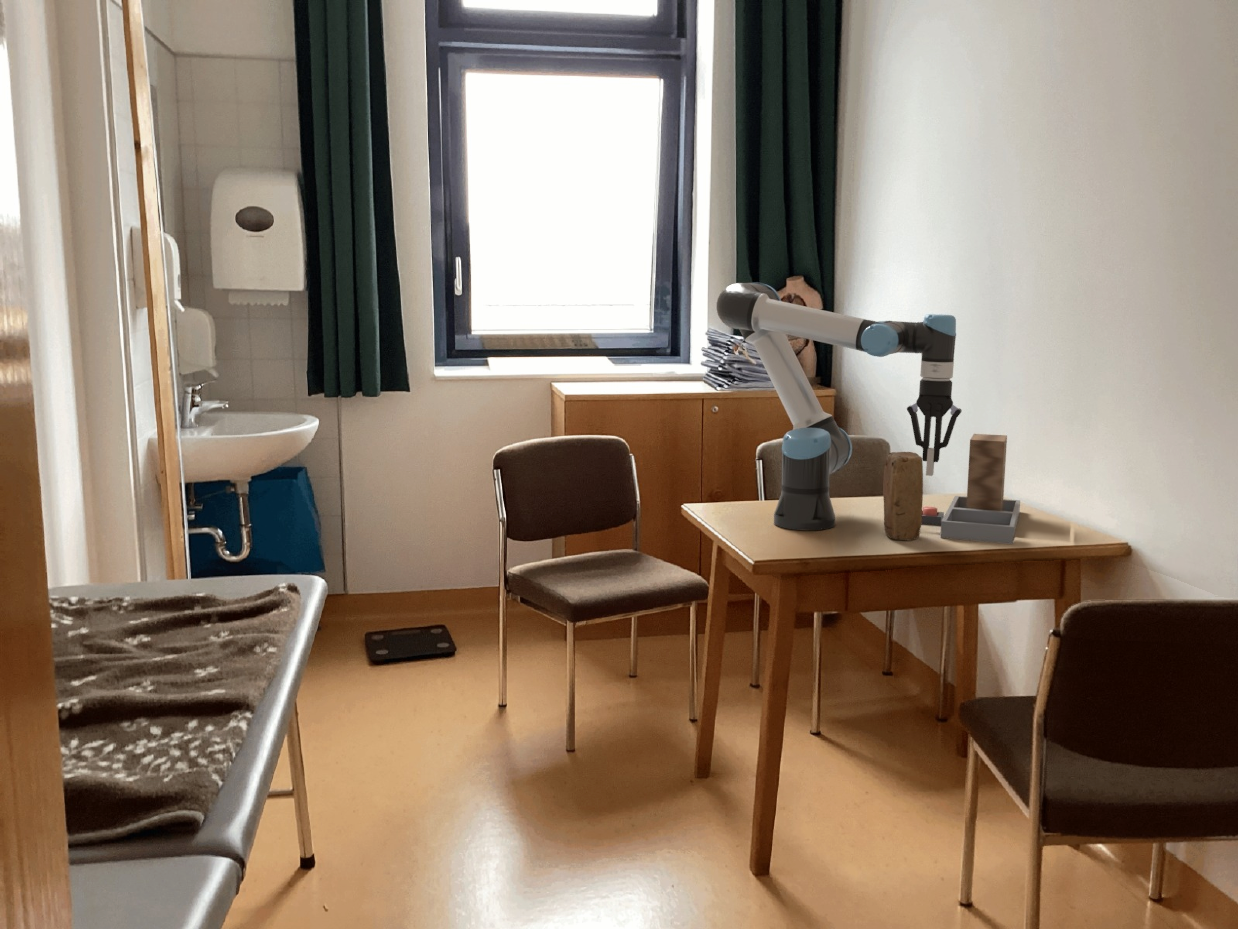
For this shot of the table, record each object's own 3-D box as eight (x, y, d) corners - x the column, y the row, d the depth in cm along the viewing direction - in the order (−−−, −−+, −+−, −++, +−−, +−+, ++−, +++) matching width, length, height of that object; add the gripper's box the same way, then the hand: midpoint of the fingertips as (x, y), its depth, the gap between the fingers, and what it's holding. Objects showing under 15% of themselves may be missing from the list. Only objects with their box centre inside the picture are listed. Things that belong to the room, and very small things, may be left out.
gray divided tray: (940, 537, 247) (941, 521, 246) (954, 510, 276) (955, 495, 275) (1012, 544, 241) (1013, 527, 240) (1019, 515, 270) (1020, 500, 269)
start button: (921, 522, 258) (922, 509, 258) (923, 520, 261) (923, 506, 261) (935, 524, 257) (936, 510, 256) (937, 521, 260) (938, 507, 259)
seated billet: (965, 518, 262) (970, 439, 258) (969, 510, 272) (973, 433, 268) (999, 521, 259) (1004, 441, 255) (1002, 512, 269) (1007, 435, 265)
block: (922, 541, 243) (926, 456, 240) (890, 542, 243) (894, 457, 240) (909, 530, 254) (912, 449, 251) (878, 531, 254) (881, 449, 250)
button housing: (915, 527, 258) (915, 515, 257) (918, 521, 263) (919, 510, 263) (940, 529, 255) (941, 517, 255) (943, 523, 261) (943, 512, 260)
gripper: (906, 378, 252) (900, 475, 256) (962, 381, 247) (955, 479, 251) (910, 376, 259) (904, 469, 263) (965, 378, 254) (958, 474, 258)
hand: (929, 474), depth 257 cm, fingers closed
